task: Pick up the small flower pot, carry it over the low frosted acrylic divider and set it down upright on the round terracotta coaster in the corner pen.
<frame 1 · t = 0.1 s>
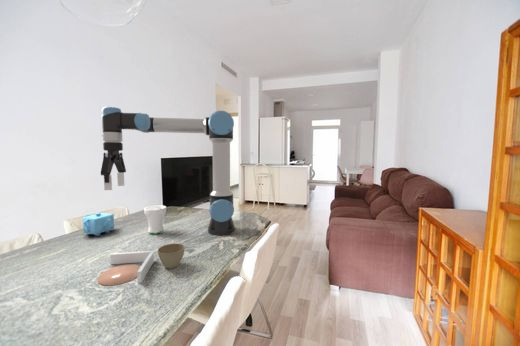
hand: (115, 187, 108), 28 cm above the table, fingers open, 13 cm apart
coaster: (120, 274, 84), on the table
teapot: (99, 232, 128), on the table
cup 2: (156, 232, 129), on the table
acrylic walls: (146, 271, 87), resting in coaster
flower pot: (171, 266, 91), on the table
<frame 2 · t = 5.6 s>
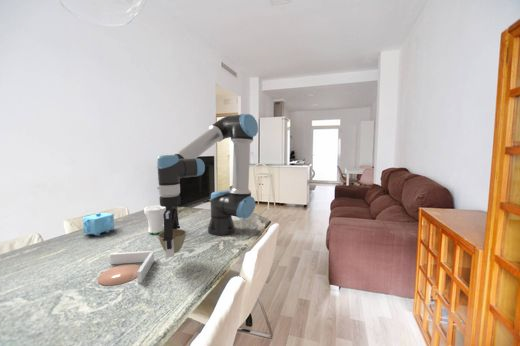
hand: (173, 250, 91), 6 cm above the table, fingers closed on flower pot, 10 cm apart
flower pot: (173, 251, 91), point 6 cm above the table, touching gripper
everything else where it was.
when the fingers open (2 cm above the table, at t = 9.4 s): flower pot stays where it is, resting on coaster.
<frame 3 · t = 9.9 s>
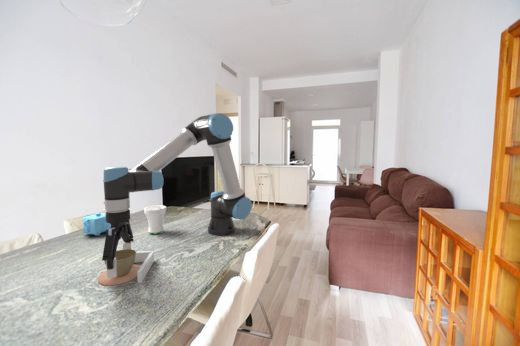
hand: (120, 267, 84), 3 cm above the table, fingers open, 13 cm apart
flower pot: (121, 274, 84), resting on coaster
everything else where it was.
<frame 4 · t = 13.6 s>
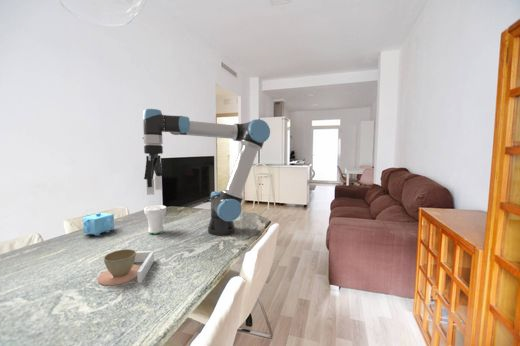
hand: (154, 191, 105), 27 cm above the table, fingers open, 13 cm apart
nothing on the table moved.
at the end: flower pot inside the target area on the coaster (0.1 cm from its centre), point 0.2 cm above the coaster's base; flower pot tilted 0°; the gripper is holding nothing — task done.
